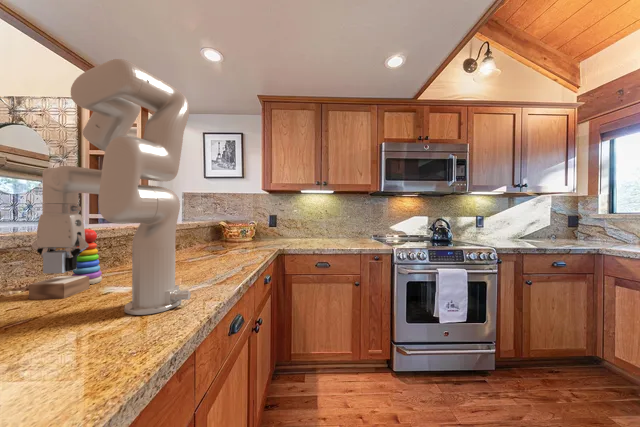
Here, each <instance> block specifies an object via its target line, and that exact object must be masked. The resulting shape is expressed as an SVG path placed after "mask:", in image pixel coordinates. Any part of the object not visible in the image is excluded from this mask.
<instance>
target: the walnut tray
mask: <svg viewBox="0 0 640 427" xmlns="http://www.w3.org/2000/svg"><path fill="white" fill-rule="evenodd" d="M89 289H90V285H89V276H72V275H67V276H63V275H57V276H56V277H52V278H48V279H45V280H41V281H37V282H34V283H33V282H32V283H31V284H29V285H28V300H49V299H51V300H52V299H66V298H68V297H72V296H73V295H76V294H80V293H82V292H84V290H85V291H86V290H89Z"/></svg>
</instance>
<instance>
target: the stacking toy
mask: <svg viewBox="0 0 640 427" xmlns="http://www.w3.org/2000/svg"><path fill="white" fill-rule="evenodd" d="M84 229H85V241H86V242H87V243H88V244H89V247H87V248H86V249H85V250H83V251H82V252H81V253H80V255H79V256H77V269H76V270H72V273H73V274H72V275H71V276H89V286H91V285H90V284H92V285H95V283H96V284H98V283H100V282H102V280H103V276H101V275H103V274H102V273H103V272H102V271H101V266H100V265H99V264H100V260H99V254H98V253H99V250H98V249H97V246H98V244H97V243H96V242H95V241H96V240H97V238H98V235H97V232H96V231H95V230H94V229H91V228H84ZM77 247H79V246H77Z"/></svg>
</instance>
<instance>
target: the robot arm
mask: <svg viewBox="0 0 640 427" xmlns="http://www.w3.org/2000/svg"><path fill="white" fill-rule="evenodd" d="M70 97H71V100H72V101H73V103H74V104H75V105H77V106H78V107H80V108H82V109H84V110H88V111H91V112H92V113H91V115H90V117H89V119H88V120H87V122H86V125H85V126H84V127H83V130H82V136H83V137H84V139H85V140H86V141H87V142H89V143H90V144H92V145H93V146H94V147H96V148H97V149H100V150H101V151H103V152H104V155H103V159H102V160H103V161H102V167H101V168H102V169H96V168H88V167H79V166H72V165H61V166H60V165H59V166H57V167H47V168H45V169H43V170H42V190H41V191H42V196H41V197H42V206H41V208H42V214H40V216H39V219H38V223H37V229H36V239H35V241H34V242H33V243H32V244H31V248H33V250H35V251H37V253H38V254H39V255H40V258H42V259H43V253H45V252H51V251H57V249H64V250H66V253H67V256H68V258H66V259H65V270H66V271H69V272H72V271H73V270H75V269H76V268H77V256H79V255H80V253H81V252H82V251H83V250H85V249H86V248H87V247H89V244H88V243H87V242H86V241H85V229H86V228H85V224H84V219H83V217H82V216H83V215H82V214H79V212H81V211H82V207H81V206H80V205H79V194H93V195H98V202H97V203H98V210H99V213H100V215H101V217H102V218H103V219H104V220H106V221H107V222H109V223H112V224H115V225H117V224H121V225H123V224H124V225H125V224H126V225H129V224H139V225H138V227H137V229H136V231H135V232H134V235H133V238H132V243H131V244H132V245H131V246H132V248H131V250H132V251H131V255H132V258H131V261H132V262H131V264H132V265H131V267H132V268H131V273H132V274H131V275H132V276H131V278H132V279H131V280H132V281H131V288H132V289H131V298H132V299H131V301H129V302H127V303H126V304H125V305H124V307H123V308H124V313H126V314H127V315H131V316H132V315H133V316H134V315H135V316H144V315H145V316H146V315H152V314H153V315H154V314H158V313H163V312H165V311H168V310H173V309H175V308H176V307H179V306H180V305H181V304H182V300H183V301H184V300H185V301H186V300H190V299H191V295H192V294H191V291H190V289H189V290H188V289H187V290H186V289H184V290H181V289H180V285H177V284H176V239H177V238H176V237H177V236H176V234H177V224H178V218H179V215H180V210H181V204H180V198H179V197H178V196H177V194H176V193H175V192H174V191H173V190H171V189H170V188H166V187H163V186H157V185H149V184H139V183H140V180H145V181H146V180H147V181H152V182H153V181H154V182H155V181H156V182H170V181H173V180H174V179H176V177H177V175H178V173H179V170H180V169H179V168H180V164H181V163H180V162H181V157H182V156H181V155H182V150H183V149H182V147H183V140H184V134H185V130H186V125H187V123H188V119H189V116H190V105H189V104H190V103H189V101H188V99H187V97H186V96H185V94H183V92H181V91H180V90H179V89H177V88H176V87H174V86H173V85H171V84H169V83H168V82H166V81H165V80H162V79H161V78H160V77H158V76H156V75H154V74H152V73H150V72H149V71H147V70H145V69H143V68H142V67H140V66H139V65H137V64H135V63H133V62H131V61H129V60H126V59H122V58H115V59H111V60H108V61H106V62H103V63H101V64H99V65H97V66H94V67H92V68H89V69H88V70H85V71H84V72H82V73H81V74H80V75H78V76H77V77H76V79H75V80H74V81H73V83H72V85H71V86H70ZM142 108H145V109H146V110H149V111H152V112H154V113H153V114H152V115H151V116H150V117H149V118H148V119H147V121H146V123H145V126H144V134H143V138H140V137H137V136H134V135H128V134H129V132H130V130H131V129H132V127H133V125H134V123H135V122H136V120H137V119H138V117H139V115H140V113H141V109H142ZM77 246H79V247H77ZM72 251H73V252H72ZM71 270H72V271H71Z"/></svg>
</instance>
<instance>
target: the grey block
mask: <svg viewBox="0 0 640 427" xmlns="http://www.w3.org/2000/svg"><path fill="white" fill-rule="evenodd" d="M72 252H73V251H72ZM66 258H68V256H67V253H66V250H65V249H56V250H55V251H51V252H45V253H43V258H42V274H64V273H68V272H73V270H71V271H66V270H65V259H66ZM76 269H77V268H76ZM76 269H75V270H76Z"/></svg>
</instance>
